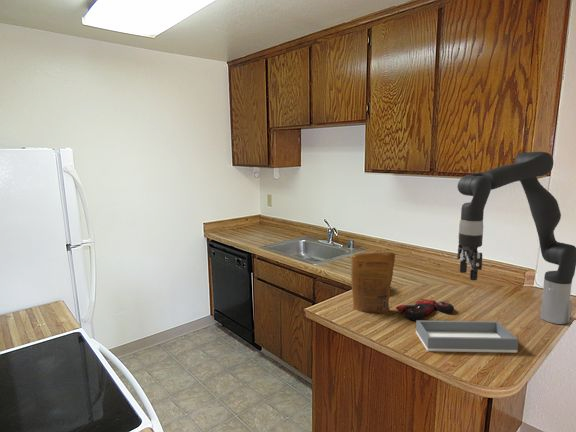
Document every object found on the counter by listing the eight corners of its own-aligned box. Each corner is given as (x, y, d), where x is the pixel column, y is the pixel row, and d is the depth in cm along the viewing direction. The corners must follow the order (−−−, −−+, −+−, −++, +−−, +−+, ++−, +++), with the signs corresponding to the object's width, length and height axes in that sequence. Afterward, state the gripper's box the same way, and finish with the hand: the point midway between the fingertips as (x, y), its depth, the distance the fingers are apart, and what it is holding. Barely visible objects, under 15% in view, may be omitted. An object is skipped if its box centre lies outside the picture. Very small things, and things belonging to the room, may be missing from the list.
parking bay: (496, 333, 140) (497, 321, 139) (517, 352, 126) (518, 339, 126) (415, 332, 142) (416, 320, 141) (427, 351, 128) (428, 338, 127)
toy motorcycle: (456, 315, 159) (429, 297, 173) (458, 304, 158) (431, 288, 172) (413, 328, 149) (388, 308, 163) (415, 317, 148) (389, 298, 162)
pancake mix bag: (394, 316, 156) (396, 254, 152) (350, 314, 159) (351, 253, 154) (391, 310, 163) (394, 250, 159) (349, 308, 165) (350, 249, 161)
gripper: (491, 236, 120) (488, 282, 123) (472, 228, 134) (469, 270, 137) (468, 236, 121) (465, 282, 123) (452, 228, 135) (449, 270, 137)
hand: (468, 276), depth 130 cm, fingers open, 8 cm apart
